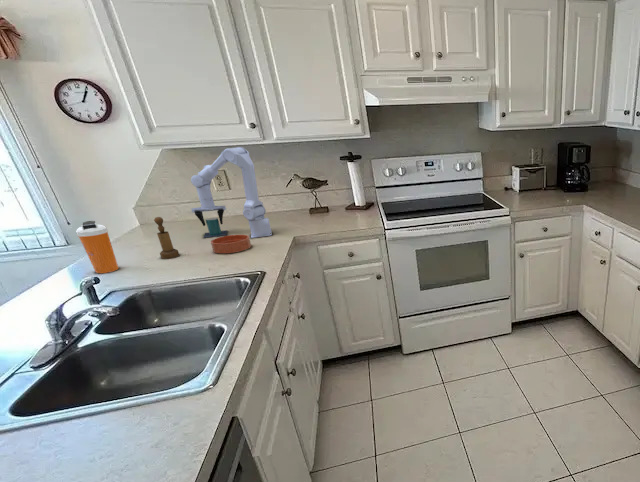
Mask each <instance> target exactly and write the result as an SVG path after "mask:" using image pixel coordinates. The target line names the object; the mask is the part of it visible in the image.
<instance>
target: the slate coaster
mask: <svg viewBox="0 0 640 482" xmlns="http://www.w3.org/2000/svg"><path fill="white" fill-rule="evenodd" d="M221 232H222V233H221V234H219V235H210V234H209V232H205V233H204V235H203V239H209V238H219V237H223V236H228V230H221Z"/></svg>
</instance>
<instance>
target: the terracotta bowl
mask: <svg viewBox="0 0 640 482" xmlns="http://www.w3.org/2000/svg"><path fill="white" fill-rule="evenodd" d="M250 238H251V237H250V235H248V234H230V235H229V234H227V236H219V237H215V238H212V240H210V246H211V248H212V253H213V252H214V253H216V254H234V253H239V252H243V251H246V250H249V249H250V248H252V243H251V239H250Z"/></svg>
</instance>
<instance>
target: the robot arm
mask: <svg viewBox="0 0 640 482" xmlns="http://www.w3.org/2000/svg"><path fill="white" fill-rule="evenodd" d="M228 162H229V163H231V164H234V165H235V166H237V167H238V168H240V169H241V174H242V182H243V189H244V196H245V202H244V204H243V210H242V215H243V216H244V218H245V219H246V220H247V222H248V225H249V229H250V238H251V239H256V238H262V237H263V238H264V237H270V236H273V234H272V231H273V230H272V228H271V224H270V219H269V217H265V214H266V212H267V211H266V208H265V206H264V203H263V201H261V200H260V199H259V192H258V185H257V177H256V171H255V164H254V162H253V160H252V159H251V156H250V151H248V150H247V149H246V148H245V147H243V146H237V147H230V148H229V147H228V148H225V149H224V150H222V151H221V152H220V154H219V156H218V157H217V158H216V159H215V160H214V161H213V163H212V164H207V165H206V164H205V165H203V168H202V170H201V171H198V172H197V174H194V175H192V176H191V178H190V182H191V183H192V185H193V187H195V189H196V192H197V196H198V200H199V204H200V206H199V207H192V208H190V209H191V210H190V211H191V213H192V214H193V213H194V215H195V216H196V217H197V219H198V220H199V221H200V223H201V225H202V226H203V227H205V226H206V220H205V219H204V215H203V213H204V212H214V211H216V212H217V216H218V220H219V225H223V223H224V221H223V219H224V218H223V217H224V211H226V210H227V208H226V205H215V201H214V197H213V195H212V191H211V184H212V180H214V178H216V177H217V176H218V175H219V170H220V169H221V168H222V167H224V166H225V165H226V164H227V163H228ZM270 233H271V234H270Z"/></svg>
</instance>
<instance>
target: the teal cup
mask: <svg viewBox="0 0 640 482" xmlns="http://www.w3.org/2000/svg"><path fill="white" fill-rule="evenodd" d="M205 224H206V226H207V231H208V233H209V234H210V235H219V234H221V233H222V232H221V231H222V229H221V224H220V220H219V217H210V218H206V219H205Z"/></svg>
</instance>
